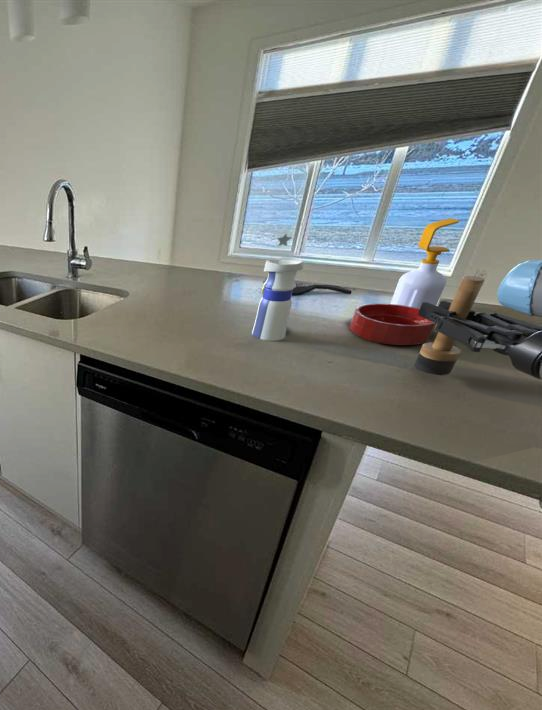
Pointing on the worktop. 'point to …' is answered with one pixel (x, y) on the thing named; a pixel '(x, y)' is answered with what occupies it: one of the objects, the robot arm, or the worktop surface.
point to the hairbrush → (303, 289)
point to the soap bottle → (423, 273)
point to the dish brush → (441, 351)
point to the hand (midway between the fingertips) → (430, 308)
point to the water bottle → (276, 297)
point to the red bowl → (391, 324)
